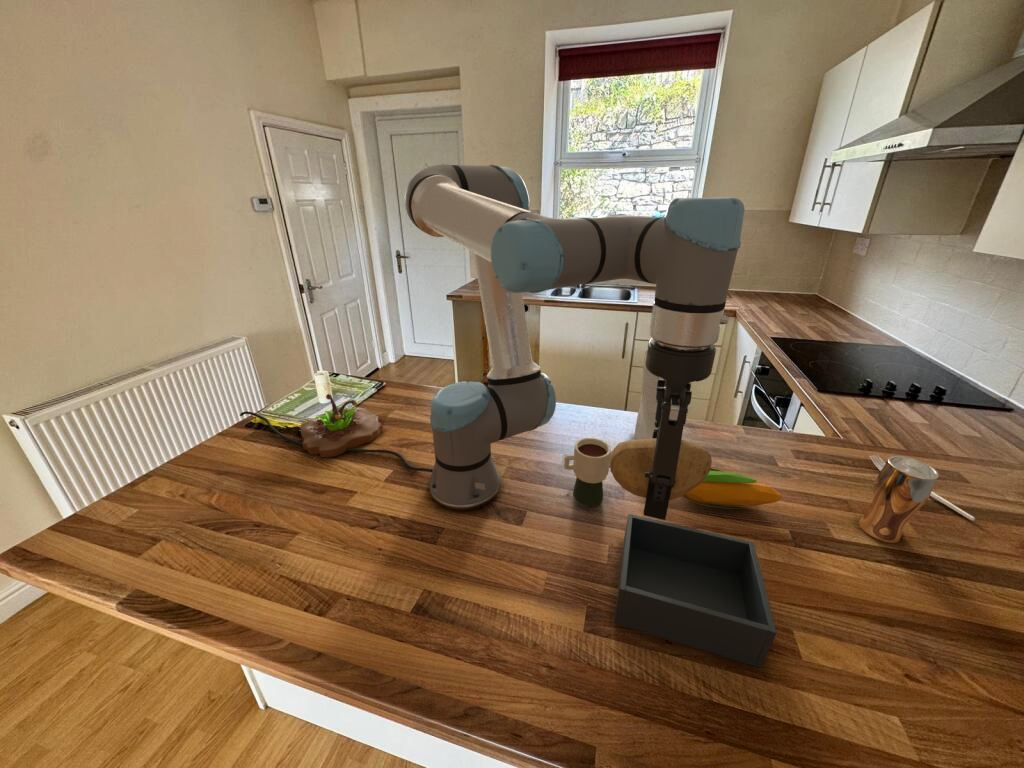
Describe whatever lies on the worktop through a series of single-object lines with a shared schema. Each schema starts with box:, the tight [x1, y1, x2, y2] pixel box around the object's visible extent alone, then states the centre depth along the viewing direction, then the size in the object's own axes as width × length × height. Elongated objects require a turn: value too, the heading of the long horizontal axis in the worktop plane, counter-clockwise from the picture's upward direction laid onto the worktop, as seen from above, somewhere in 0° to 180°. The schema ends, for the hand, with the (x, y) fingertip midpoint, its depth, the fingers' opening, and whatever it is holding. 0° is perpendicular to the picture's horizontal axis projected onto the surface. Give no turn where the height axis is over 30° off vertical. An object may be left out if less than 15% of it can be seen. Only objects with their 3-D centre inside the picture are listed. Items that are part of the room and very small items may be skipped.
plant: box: [299, 393, 384, 458], centre depth 105 cm, size 20×20×11 cm
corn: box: [682, 468, 783, 510], centre depth 82 cm, size 7×8×20 cm
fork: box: [869, 453, 976, 522], centre depth 86 cm, size 3×20×2 cm, turn 12°
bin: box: [613, 513, 777, 669], centre depth 62 cm, size 20×16×8 cm
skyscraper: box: [631, 349, 663, 440], centre depth 95 cm, size 8×8×28 cm
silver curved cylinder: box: [858, 455, 940, 544], centre depth 73 cm, size 7×7×15 cm
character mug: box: [563, 437, 612, 508], centre depth 82 cm, size 11×7×13 cm, turn 94°
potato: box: [609, 438, 713, 501], centre depth 55 cm, size 10×14×8 cm
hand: (655, 490), depth 57 cm, fingers closed on potato, 10 cm apart
